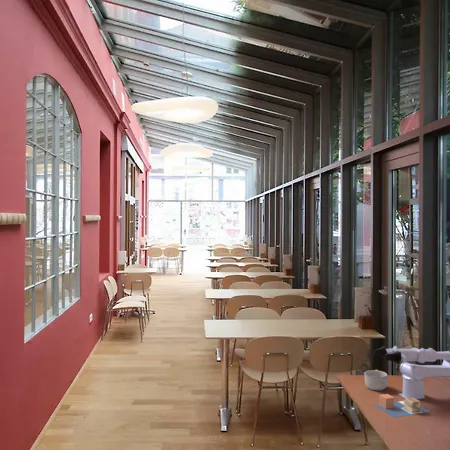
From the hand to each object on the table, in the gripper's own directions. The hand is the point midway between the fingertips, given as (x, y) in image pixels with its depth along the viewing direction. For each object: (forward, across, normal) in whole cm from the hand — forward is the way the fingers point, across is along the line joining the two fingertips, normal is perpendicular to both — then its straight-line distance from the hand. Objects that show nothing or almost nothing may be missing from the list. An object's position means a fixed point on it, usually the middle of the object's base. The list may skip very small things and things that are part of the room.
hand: (379, 354), depth 221 cm
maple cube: (-9, +14, +20) cm, 26 cm away
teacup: (-13, -15, +21) cm, 29 cm away
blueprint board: (-6, +11, +21) cm, 25 cm away
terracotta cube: (-1, +7, +21) cm, 22 cm away
